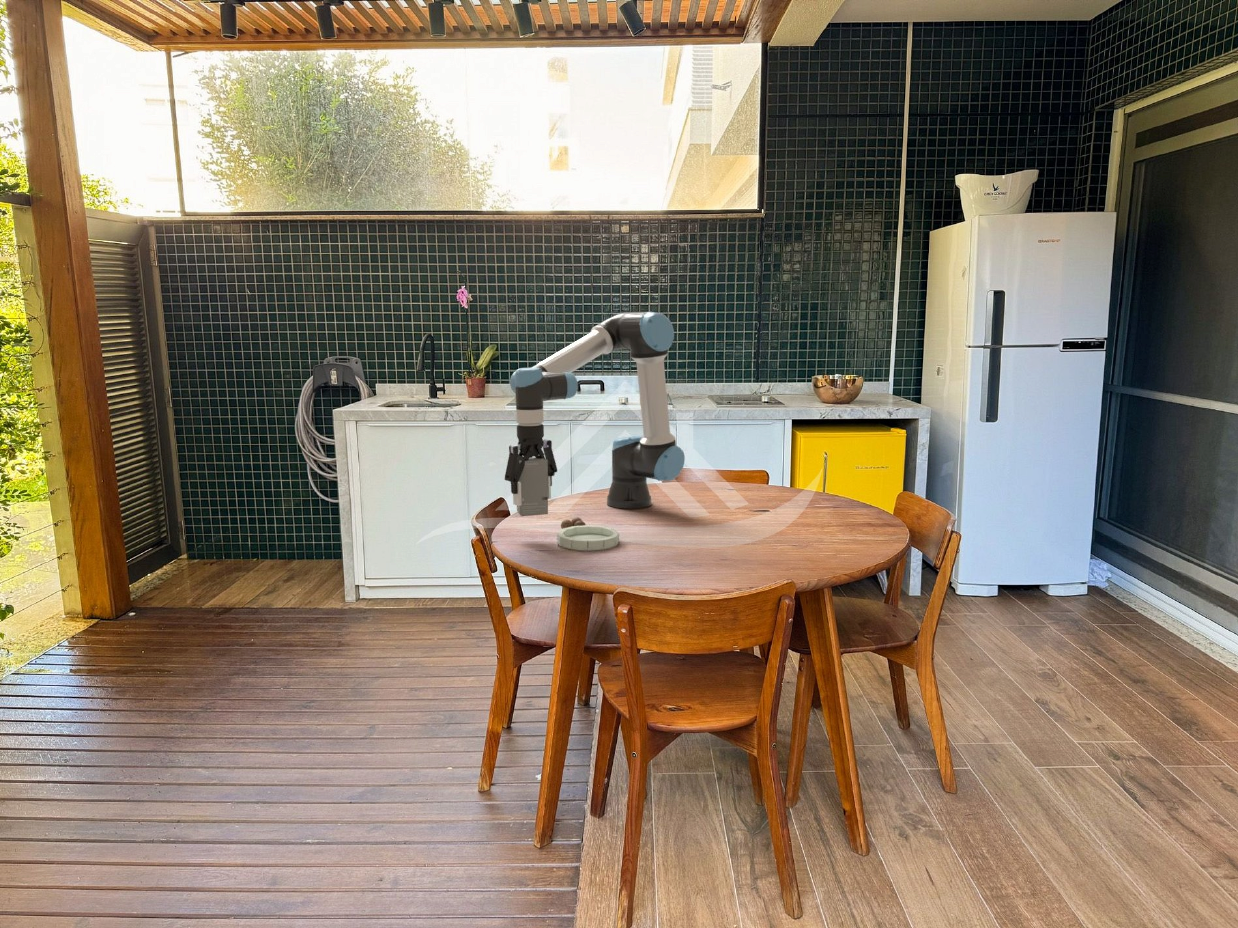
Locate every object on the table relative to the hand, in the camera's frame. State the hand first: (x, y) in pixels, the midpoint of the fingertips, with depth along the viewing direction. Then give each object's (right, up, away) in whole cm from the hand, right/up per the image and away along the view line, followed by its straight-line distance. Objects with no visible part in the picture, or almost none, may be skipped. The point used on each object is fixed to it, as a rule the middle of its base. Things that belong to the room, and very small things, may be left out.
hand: (532, 501), depth 236 cm
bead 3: (+13, -10, +9) cm, 19 cm away
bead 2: (+12, -9, +13) cm, 20 cm away
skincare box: (0, -4, +1) cm, 4 cm away
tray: (+16, -12, -2) cm, 20 cm away
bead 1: (+9, -9, +10) cm, 17 cm away
